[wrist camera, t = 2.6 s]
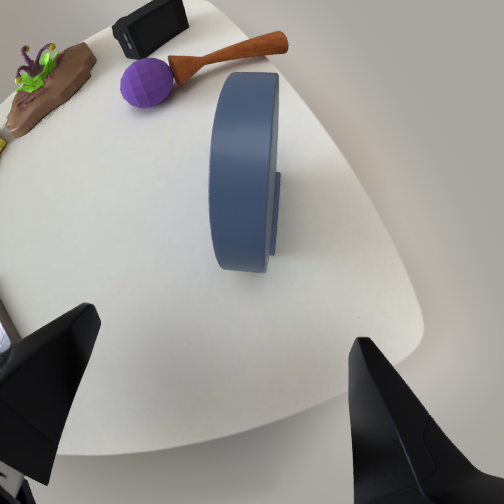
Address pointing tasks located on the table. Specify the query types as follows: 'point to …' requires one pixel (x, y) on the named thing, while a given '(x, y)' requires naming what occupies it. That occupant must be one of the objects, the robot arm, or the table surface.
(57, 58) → the plant
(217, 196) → the disc
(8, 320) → the stand
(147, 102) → the kendama
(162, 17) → the digital camera
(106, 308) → the table surface
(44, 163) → the table surface
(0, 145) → the game box
